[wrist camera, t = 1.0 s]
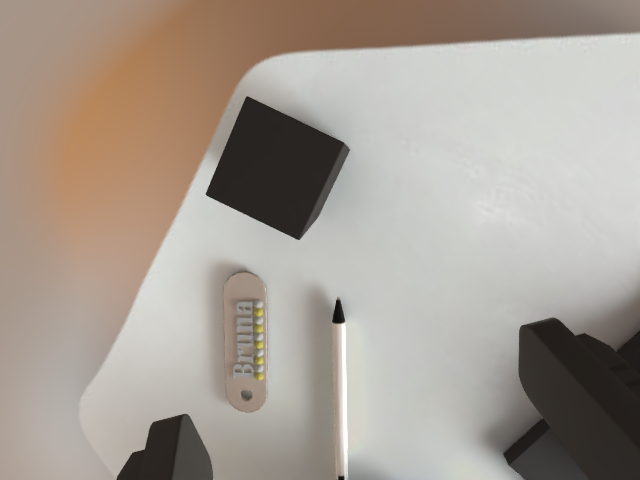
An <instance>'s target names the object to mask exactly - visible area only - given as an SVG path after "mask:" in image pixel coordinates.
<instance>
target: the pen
mask: <svg viewBox="0 0 640 480" xmlns="http://www.w3.org/2000/svg"><path fill="white" fill-rule="evenodd" d="M332 332H333V378H334V424H335V471H336V480H348V459H347V398H346V337H345V318H344V314H343V310H342V306H341V301H340V299H339V297H337V300H336V305H335V310H334V315H333V320H332Z"/></svg>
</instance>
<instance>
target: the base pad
mask: <svg viewBox="0 0 640 480" xmlns="http://www.w3.org/2000/svg"><path fill="white" fill-rule="evenodd" d="M617 353H618V354H619V355H620V356H621V357H622V358H623V359H625V360H626V361H627V362H628V364H629V366H630V367H633V368H634V369H635V370H637V371H638V372H639V373H640V331H639V332H638V333H637V334H636V335H635V336H634V337H633V338H632V339H631V340H629V341H628V342H627V343H626V344H625V345H624V346H623V347H622V348H621V349H619V350H618V351H617ZM504 456H505V458H506V461H507V463H508V465H509V466H510V467H512V468H513V469H514V470H515V471H516V472H517V473H519V474H520V475H521V476H522V477H523V478H525V479H526V480H589V479H588V478H587V476H586V475H585V474H584V472H583V471H582V470H581V468H580V467H579V466H578V464H577V463H576V462H575V460H574V459H573V457H572V456H571V455H570V453H569V452H568V451H567V449H566V448H565V447H564V445H563V444H562V443H561V441H560V440H559V438H558V437H557V436H556V434H555V433H554V432H553V430H552V429H551V428H550V426H549V425H548V424H547V422H546V421H545V420H544V418H543V419H542V420H541V421H539V422H538V423H537V424H536V425H535V426H534V427H533V428H532V429H531V430H529V431H528V432H527V433H526V434H525V435H524V436H523V437H522V438H521V439H520V440H518V441H517V442H516V443H515V444H514V445H513V446H512V447H511V448H510V449H508V450H507V451H506V452H505V453H504Z"/></svg>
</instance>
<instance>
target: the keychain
mask: <svg viewBox="0 0 640 480" xmlns="http://www.w3.org/2000/svg"><path fill="white" fill-rule="evenodd" d="M223 303H224V341H225V380H226V396H227V399H228V401H229V403H230V404H231V405H232V406H233V407H234V408H235V409H237V410H239V411H241V412H246V413H247V412H254V411H256V410H258V409H260V408H261V407H262V406H263V404H264V402H265V401H266V398H267V298H266V288H265V285H264V283H263V281H262V280H261V279H260V278H259V277H258V276H256V275H254V274H253V273H249V272H239V273H237V274H234V275H233V276H231V277H230V278H229V279H228V280H227V282H226V284H225V286H224V291H223ZM243 390H249V391H250V392H251V393H252V398H250V399H245V398H243V397H242V395H241V391H243Z"/></svg>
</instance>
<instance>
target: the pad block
mask: <svg viewBox="0 0 640 480" xmlns="http://www.w3.org/2000/svg"><path fill="white" fill-rule="evenodd" d="M349 151H350V149H349V148H348V147H347V146H346V144H345V143H344V142H342V141H339V140H337V139H335V138H333V137H331V136H329V135H327V134H325V133H323V132H321V131H319V130H317V129H315V128H312V127H310V126H308V125H306V124H304V123H302V122H300V121H298V120H296V119H294V118H292V117H290V116H287V115H285V114H283V113H281V112H279V111H277V110H275V109H273V108H271V107H269V106H267V105H265V104H262V103H260V102H258V101H256V100H254V99H252V98H250V97H248V96H247V97H246V98H245V101H244V103H243V105H242V108H241V110H240V113H239V115H238V117H237V120H236V122H235V125H234V127H233V130H232V132H231V134H230V137H229V139H228V142H227V144H226V146H225V149H224V151H223V154H222V156H221V158H220V161H219V163H218V166H217V168H216V170H215V173H214V175H213V178H212V180H211V183H210V185H209V187H208V190H207V192H206V195H207V196H208V197H211V198H213V199H215V200H217V201H219V202H221V203H223V204H225V205H227V206H229V207H231V208H233V209H235V210H237V211H240V212H242V213H244V214H246V215H248V216H250V217H252V218H254V219H256V220H258V221H260V222H262V223H264V224H266V225H268V226H271V227H273V228H275V229H277V230H279V231H281V232H283V233H285V234H287V235H289V236H291V237H293V238H295V239H297V240H300V239H301V238H302V236H303V235H304V234H305V233H306V231H307V230H308V229H309V228H310V226H311V225H312V224H313V223H314V221H315V220H316V219H317V218H318V216H319V214H320V212H321V210H322V208H323V206H324V203H325V201H326V199H327V197H328V195H329V193H330V191H331V189H332V187H333V185H334V182H335V180H336V178H337V176H338V174H339V172H340V170H341V168H342V166H343V163H344V161H345V159H346V157H347V155H348V153H349Z"/></svg>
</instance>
